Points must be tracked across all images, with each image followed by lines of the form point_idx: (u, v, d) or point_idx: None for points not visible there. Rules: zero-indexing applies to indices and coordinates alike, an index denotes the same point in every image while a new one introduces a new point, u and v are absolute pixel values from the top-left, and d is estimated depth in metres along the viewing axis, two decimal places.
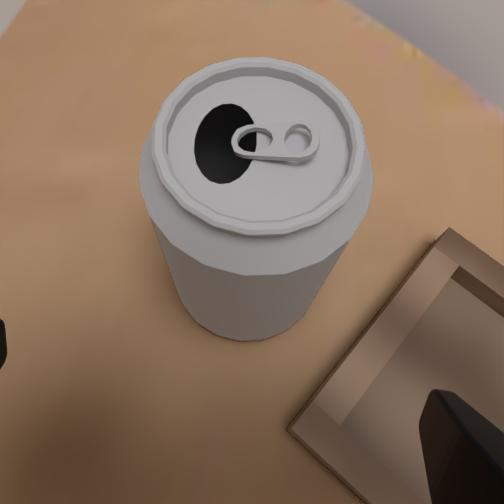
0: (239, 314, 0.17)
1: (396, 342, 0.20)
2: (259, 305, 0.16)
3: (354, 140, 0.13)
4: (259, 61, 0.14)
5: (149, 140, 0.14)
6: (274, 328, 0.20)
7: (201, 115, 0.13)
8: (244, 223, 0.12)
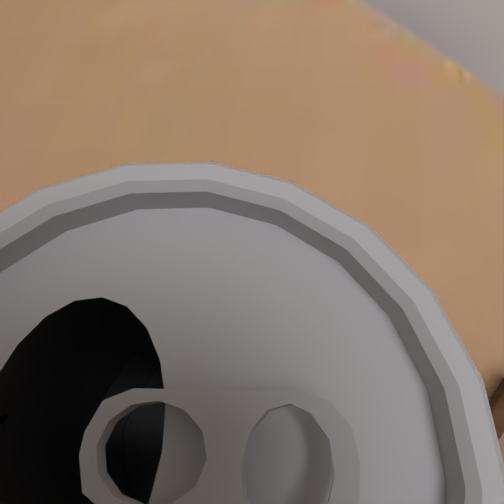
0: None
1: None
2: None
3: (469, 461, 0.04)
4: (182, 177, 0.05)
5: None
6: None
7: (7, 342, 0.05)
8: None
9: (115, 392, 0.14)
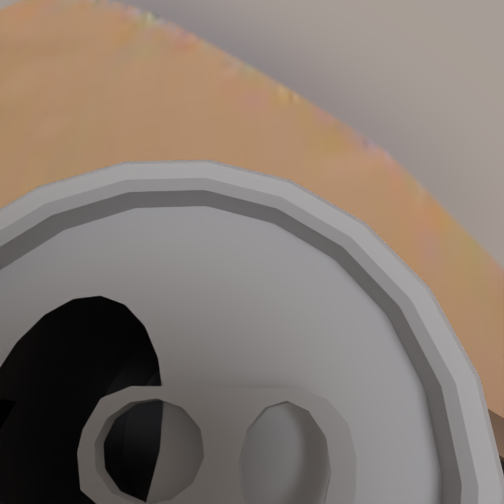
0: None
1: None
2: None
3: (466, 458, 0.04)
4: (180, 175, 0.05)
5: None
6: None
7: (6, 341, 0.05)
8: None
9: (114, 391, 0.15)
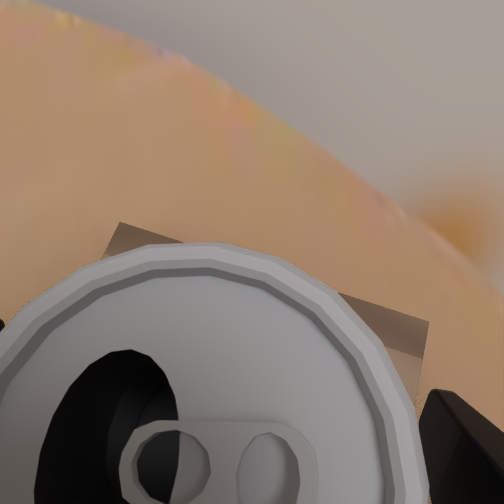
0: None
1: None
2: None
3: (398, 472, 0.06)
4: (190, 256, 0.06)
5: None
6: None
7: (61, 385, 0.06)
8: None
9: (125, 403, 0.16)
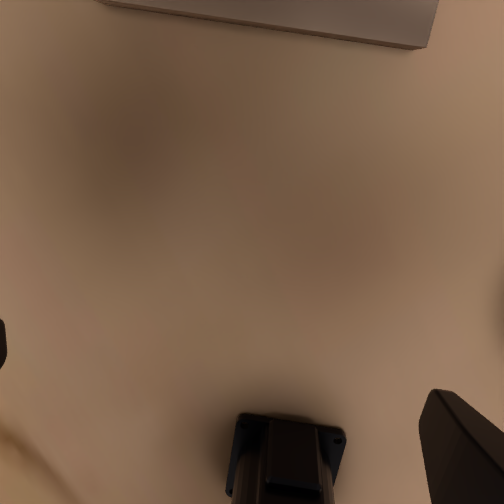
0: None
1: None
2: None
3: None
4: None
5: None
6: None
7: None
8: None
9: None
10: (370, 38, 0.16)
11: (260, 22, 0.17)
